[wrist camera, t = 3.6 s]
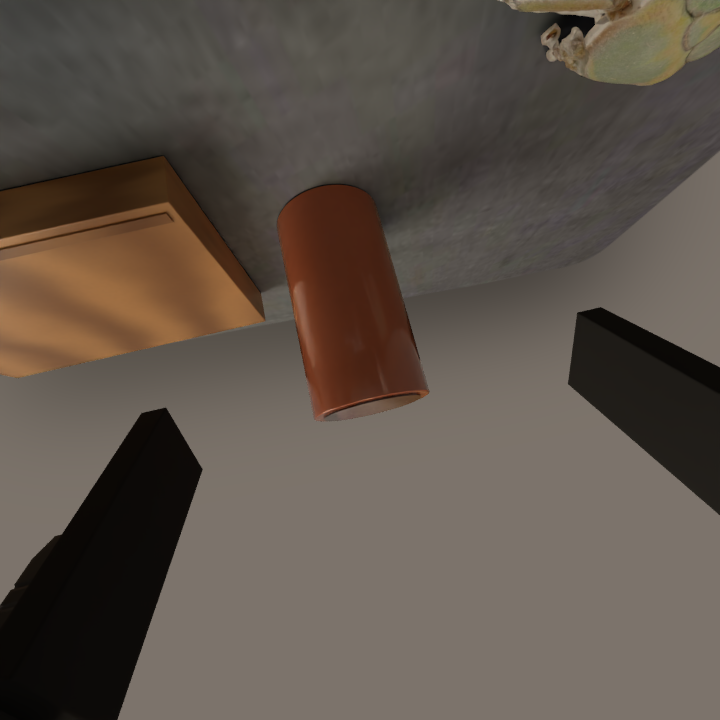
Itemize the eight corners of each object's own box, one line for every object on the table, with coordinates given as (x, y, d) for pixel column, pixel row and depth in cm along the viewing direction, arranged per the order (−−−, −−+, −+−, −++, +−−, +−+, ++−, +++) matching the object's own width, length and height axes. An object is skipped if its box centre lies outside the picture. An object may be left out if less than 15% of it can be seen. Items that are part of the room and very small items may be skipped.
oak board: (17, 348, 29) (17, 379, 28) (-298, 255, 15) (-314, 310, 15) (261, 293, 29) (266, 322, 29) (163, 155, 16) (168, 203, 15)
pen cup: (289, 260, 26) (323, 426, 23) (263, 198, 19) (304, 416, 16) (376, 240, 26) (421, 403, 23) (377, 173, 20) (439, 384, 16)
